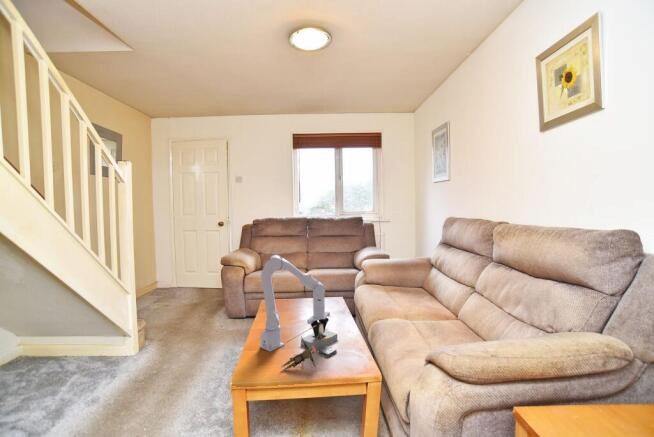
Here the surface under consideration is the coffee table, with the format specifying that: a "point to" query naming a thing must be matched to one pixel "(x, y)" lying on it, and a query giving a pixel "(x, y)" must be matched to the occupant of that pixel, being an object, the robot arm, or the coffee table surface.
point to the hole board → (317, 343)
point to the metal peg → (320, 331)
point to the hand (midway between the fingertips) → (319, 334)
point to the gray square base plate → (327, 351)
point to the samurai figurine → (301, 355)
